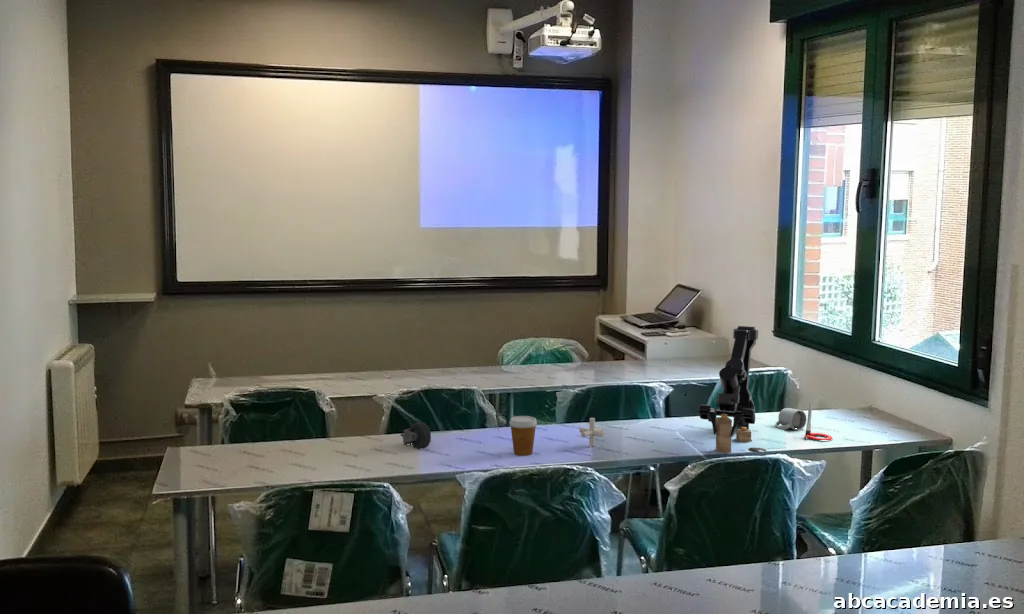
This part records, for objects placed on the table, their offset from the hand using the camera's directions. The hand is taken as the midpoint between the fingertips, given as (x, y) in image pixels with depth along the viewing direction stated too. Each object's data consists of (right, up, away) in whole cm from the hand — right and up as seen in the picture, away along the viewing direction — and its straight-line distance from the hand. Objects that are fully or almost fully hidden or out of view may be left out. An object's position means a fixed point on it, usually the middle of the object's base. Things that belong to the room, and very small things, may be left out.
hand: (723, 435), depth 300 cm
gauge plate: (+12, -6, +10) cm, 16 cm away
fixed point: (+11, -4, +16) cm, 20 cm away
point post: (+1, -6, +2) cm, 7 cm away
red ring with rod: (+40, -5, +21) cm, 45 cm away
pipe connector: (-44, -6, +11) cm, 45 cm away
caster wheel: (-106, -6, +11) cm, 107 cm away
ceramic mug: (+34, -3, +35) cm, 49 cm away
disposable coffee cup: (-68, -7, +2) cm, 68 cm away
